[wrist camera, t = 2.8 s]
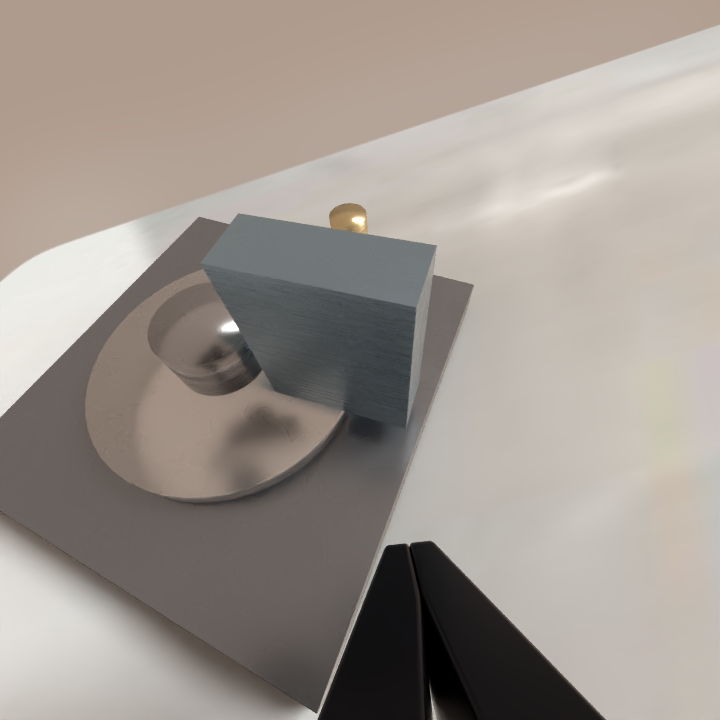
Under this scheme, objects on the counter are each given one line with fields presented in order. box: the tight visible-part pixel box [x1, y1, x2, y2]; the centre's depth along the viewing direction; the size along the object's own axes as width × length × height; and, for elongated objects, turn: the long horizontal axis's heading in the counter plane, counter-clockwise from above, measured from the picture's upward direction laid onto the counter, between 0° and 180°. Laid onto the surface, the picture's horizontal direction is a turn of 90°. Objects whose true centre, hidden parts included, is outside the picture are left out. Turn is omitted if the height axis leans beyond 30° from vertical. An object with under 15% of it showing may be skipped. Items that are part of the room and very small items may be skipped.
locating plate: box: [0, 203, 474, 714], centre depth 16 cm, size 18×18×6 cm
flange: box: [85, 213, 437, 503], centre depth 13 cm, size 14×12×8 cm
